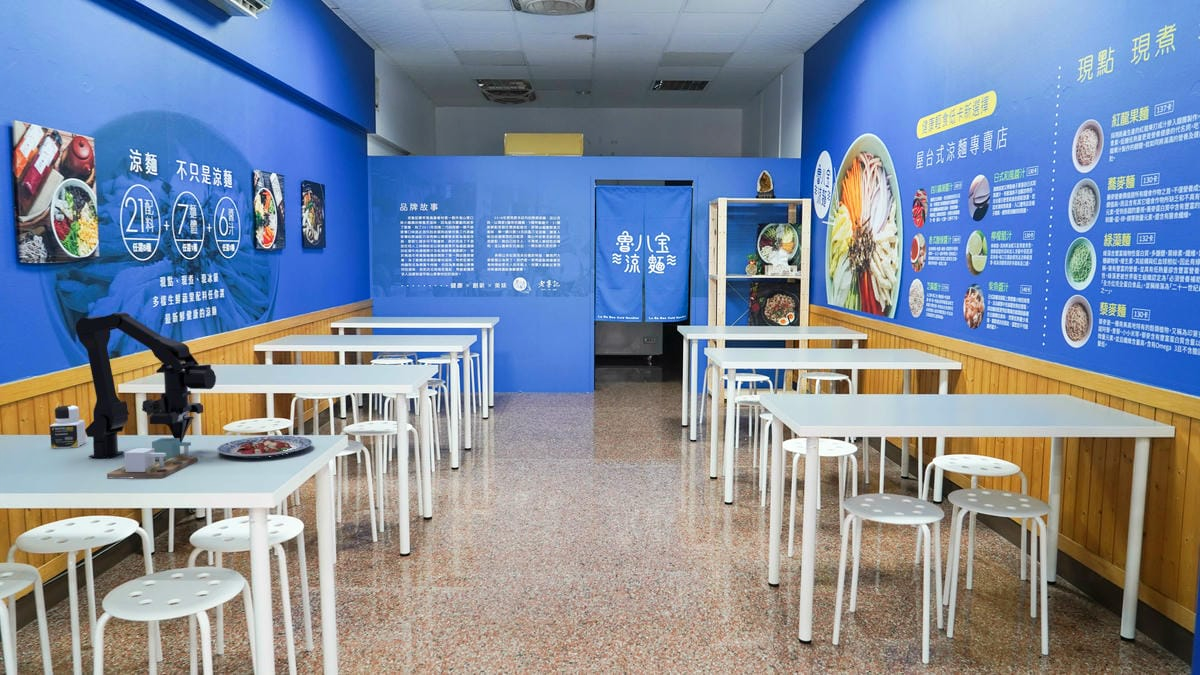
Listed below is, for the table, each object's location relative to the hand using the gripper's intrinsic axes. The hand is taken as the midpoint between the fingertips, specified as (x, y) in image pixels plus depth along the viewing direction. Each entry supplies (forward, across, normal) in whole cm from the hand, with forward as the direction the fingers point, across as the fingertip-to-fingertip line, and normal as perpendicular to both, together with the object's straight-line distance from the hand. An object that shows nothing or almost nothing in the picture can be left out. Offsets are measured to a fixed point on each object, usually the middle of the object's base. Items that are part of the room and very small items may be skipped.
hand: (178, 443), depth 239 cm
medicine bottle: (+4, -15, -41) cm, 44 cm away
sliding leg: (+3, +7, +2) cm, 8 cm away
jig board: (+4, +13, 0) cm, 14 cm away
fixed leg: (+2, +20, +2) cm, 20 cm away
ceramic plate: (+4, -8, +21) cm, 23 cm away
